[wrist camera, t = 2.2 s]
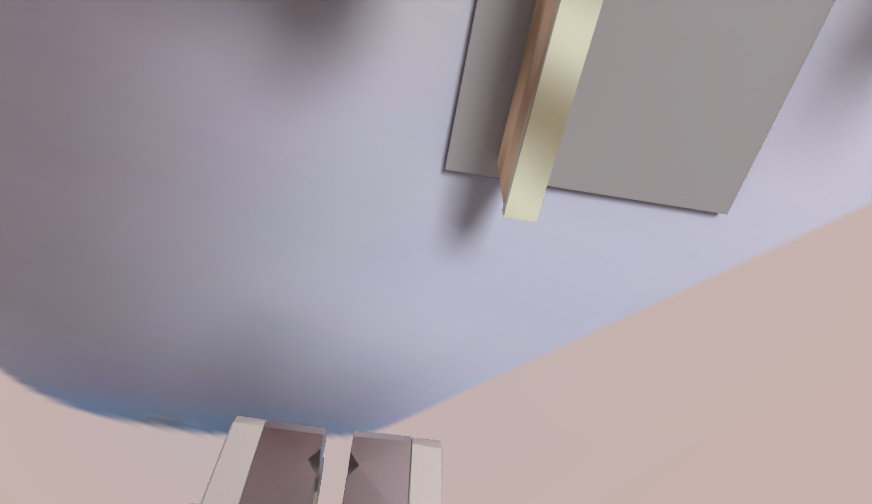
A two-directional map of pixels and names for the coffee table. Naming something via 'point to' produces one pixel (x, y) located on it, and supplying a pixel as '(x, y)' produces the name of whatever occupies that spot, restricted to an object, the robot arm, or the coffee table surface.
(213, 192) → the coffee table surface
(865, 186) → the coffee table surface
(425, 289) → the coffee table surface
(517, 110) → the fence gate
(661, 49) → the card
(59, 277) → the coffee table surface
